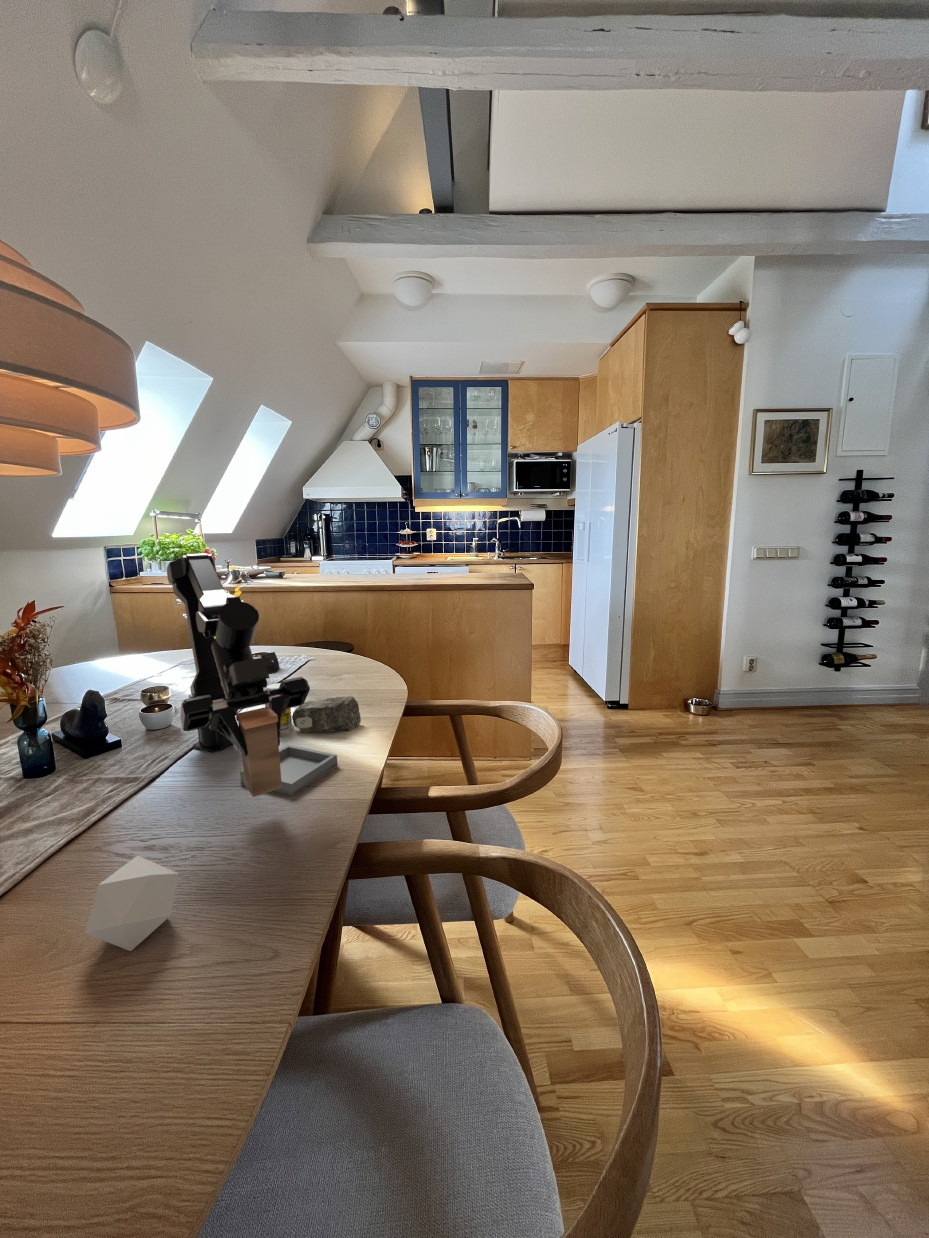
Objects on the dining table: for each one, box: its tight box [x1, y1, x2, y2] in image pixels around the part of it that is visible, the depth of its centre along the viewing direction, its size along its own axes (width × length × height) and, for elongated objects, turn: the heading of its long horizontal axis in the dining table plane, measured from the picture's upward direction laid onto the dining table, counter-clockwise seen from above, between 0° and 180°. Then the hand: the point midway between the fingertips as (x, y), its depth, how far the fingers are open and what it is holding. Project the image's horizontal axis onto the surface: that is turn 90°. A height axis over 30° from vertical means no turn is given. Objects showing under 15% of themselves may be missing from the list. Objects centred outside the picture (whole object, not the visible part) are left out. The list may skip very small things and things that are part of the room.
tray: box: [239, 744, 338, 797], centre depth 95 cm, size 12×12×2 cm
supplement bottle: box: [264, 682, 293, 730], centre depth 118 cm, size 5×5×10 cm
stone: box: [291, 695, 362, 733], centre depth 116 cm, size 14×7×10 cm, turn 102°
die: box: [84, 855, 180, 952], centre depth 58 cm, size 8×9×10 cm
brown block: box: [235, 706, 282, 798], centre depth 80 cm, size 5×5×12 cm
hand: (262, 750), depth 79 cm, fingers closed on brown block, 4 cm apart
